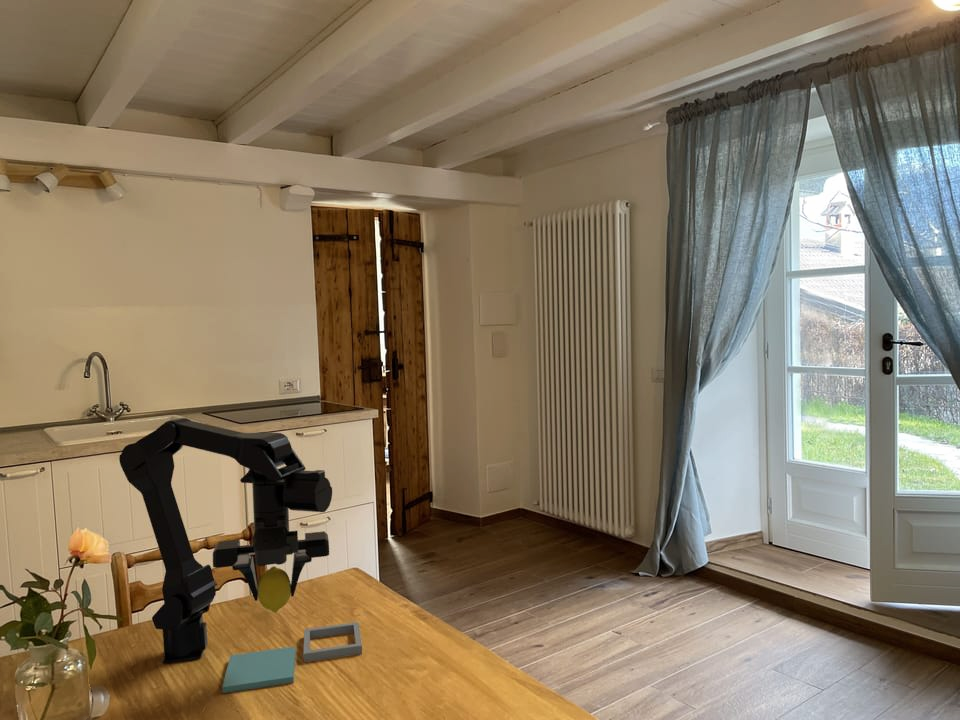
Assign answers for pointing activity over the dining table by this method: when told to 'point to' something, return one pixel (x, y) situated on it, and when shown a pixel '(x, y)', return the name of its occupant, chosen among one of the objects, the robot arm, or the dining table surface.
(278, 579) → the lemon
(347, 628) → the holder
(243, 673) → the tile
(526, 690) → the dining table surface
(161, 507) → the robot arm
